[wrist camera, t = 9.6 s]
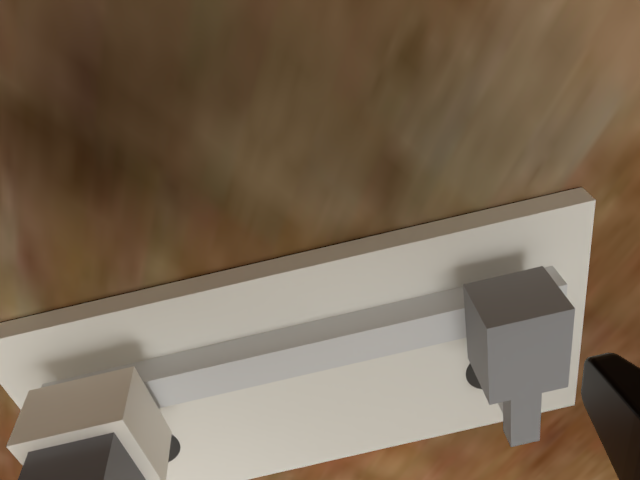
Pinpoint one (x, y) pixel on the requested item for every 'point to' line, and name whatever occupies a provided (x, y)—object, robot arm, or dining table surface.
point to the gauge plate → (341, 341)
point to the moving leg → (92, 431)
